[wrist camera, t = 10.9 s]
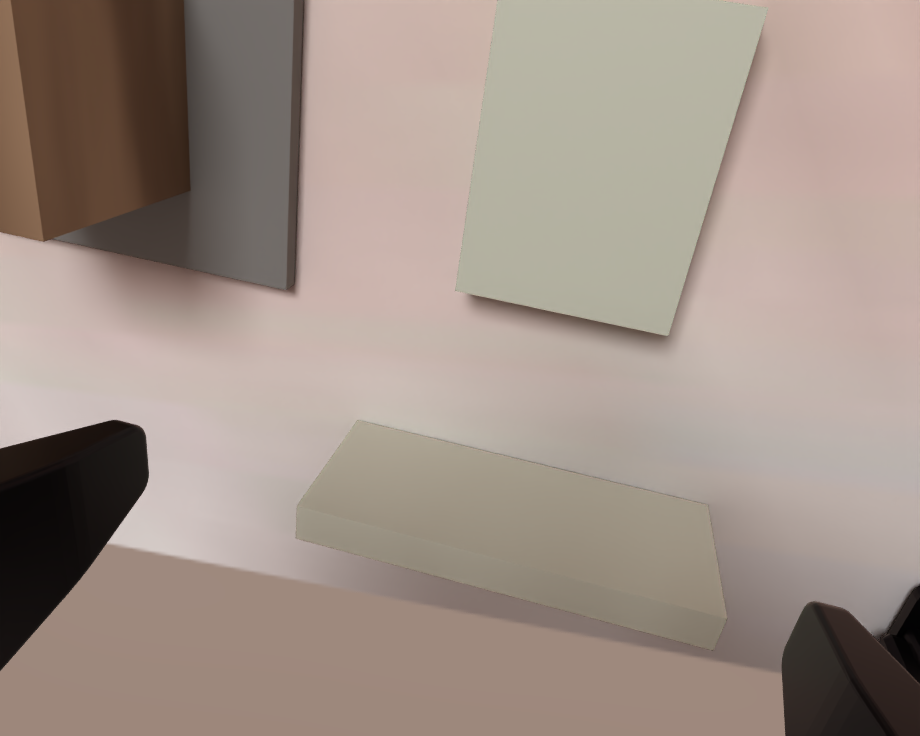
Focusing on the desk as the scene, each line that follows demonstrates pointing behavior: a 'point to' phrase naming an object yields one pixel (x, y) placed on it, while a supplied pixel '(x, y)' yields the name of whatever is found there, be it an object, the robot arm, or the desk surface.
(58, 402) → the desk surface
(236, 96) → the rubber mat
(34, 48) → the walnut block
